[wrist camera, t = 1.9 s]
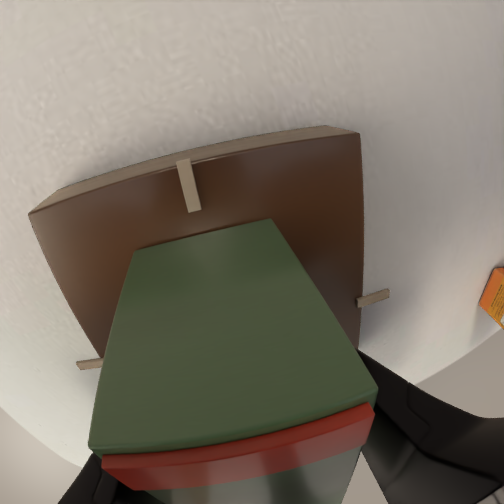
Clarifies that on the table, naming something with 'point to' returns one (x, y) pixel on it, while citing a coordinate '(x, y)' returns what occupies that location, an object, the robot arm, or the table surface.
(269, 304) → the green box
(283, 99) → the table surface
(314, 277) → the brown rectangular platform
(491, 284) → the supplement box
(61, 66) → the table surface
